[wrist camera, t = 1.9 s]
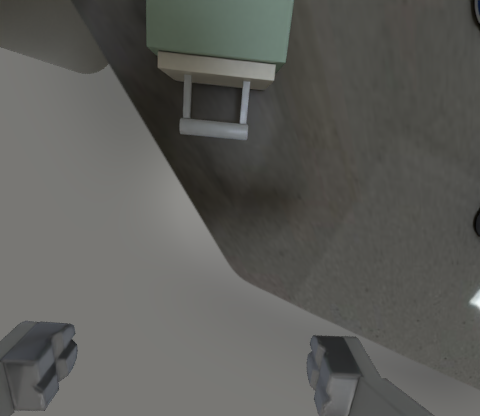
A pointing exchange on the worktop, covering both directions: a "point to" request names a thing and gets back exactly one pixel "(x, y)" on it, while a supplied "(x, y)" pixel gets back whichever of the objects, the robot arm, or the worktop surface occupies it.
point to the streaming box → (478, 225)
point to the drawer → (215, 73)
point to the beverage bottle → (477, 9)
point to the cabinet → (221, 28)
